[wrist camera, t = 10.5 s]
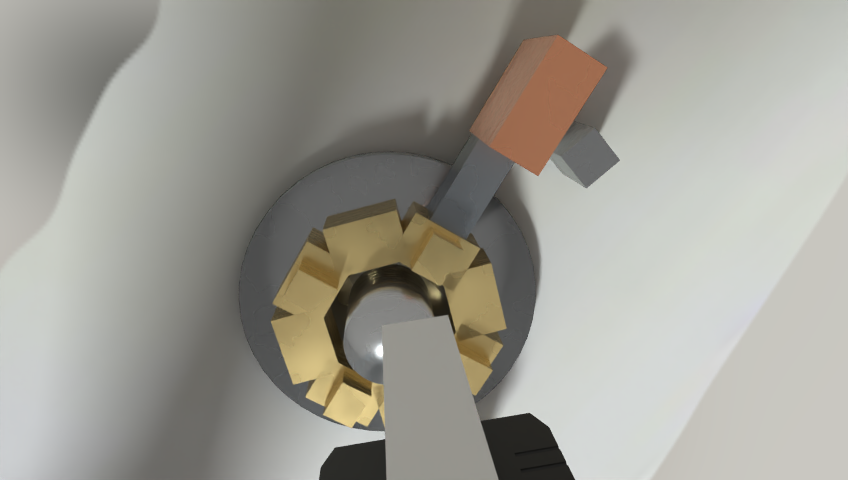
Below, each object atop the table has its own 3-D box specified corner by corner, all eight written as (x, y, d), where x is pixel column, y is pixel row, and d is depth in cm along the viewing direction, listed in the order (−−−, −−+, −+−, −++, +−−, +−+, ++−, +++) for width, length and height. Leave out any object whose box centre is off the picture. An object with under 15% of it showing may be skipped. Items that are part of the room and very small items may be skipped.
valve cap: (411, 467, 37) (417, 541, 32) (185, 320, 34) (144, 373, 28) (589, 271, 35) (630, 313, 29) (362, 87, 31) (358, 93, 25)
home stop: (562, 173, 33) (586, 188, 29) (539, 145, 32) (561, 156, 29) (591, 148, 33) (620, 160, 29) (569, 119, 32) (595, 128, 28)
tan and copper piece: (425, 428, 35) (434, 499, 29) (248, 342, 33) (220, 401, 27) (634, 112, 31) (692, 123, 25) (446, -11, 29) (462, -29, 23)
